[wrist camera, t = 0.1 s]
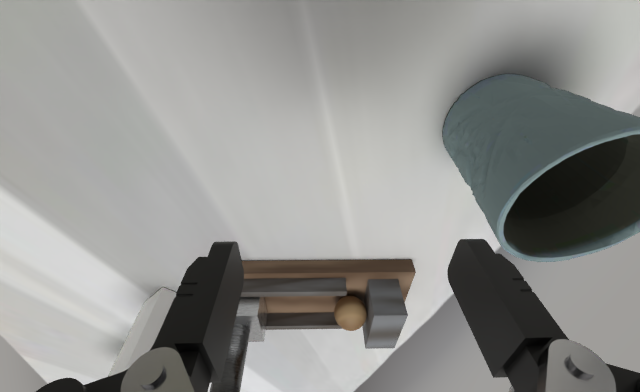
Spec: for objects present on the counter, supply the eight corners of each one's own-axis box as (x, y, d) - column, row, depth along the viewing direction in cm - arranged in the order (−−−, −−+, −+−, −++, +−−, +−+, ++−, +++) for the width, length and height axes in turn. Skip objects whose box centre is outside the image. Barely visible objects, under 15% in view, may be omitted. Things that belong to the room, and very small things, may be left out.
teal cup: (413, 146, 28) (463, 242, 18) (489, 37, 22) (621, 96, 12) (494, 178, 30) (574, 275, 21) (582, 88, 24) (747, 169, 15)
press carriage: (216, 287, 38) (142, 538, 21) (261, 286, 38) (223, 536, 22) (226, 314, 42) (171, 539, 26) (267, 313, 42) (238, 537, 26)
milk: (199, 301, 44) (131, 514, 27) (179, 315, 47) (105, 518, 30) (161, 285, 41) (59, 513, 25) (142, 302, 44) (38, 517, 27)
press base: (201, 261, 38) (182, 311, 33) (411, 259, 39) (427, 308, 33) (220, 308, 46) (207, 355, 40) (395, 306, 46) (406, 352, 41)
